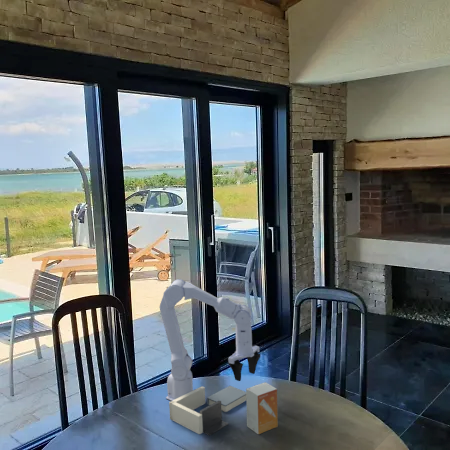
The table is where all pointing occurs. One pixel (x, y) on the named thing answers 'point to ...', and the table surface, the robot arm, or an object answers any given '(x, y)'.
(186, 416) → the cream corner tray
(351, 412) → the table surface
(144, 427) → the table surface
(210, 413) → the bookend
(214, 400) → the book
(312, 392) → the table surface
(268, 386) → the small box
